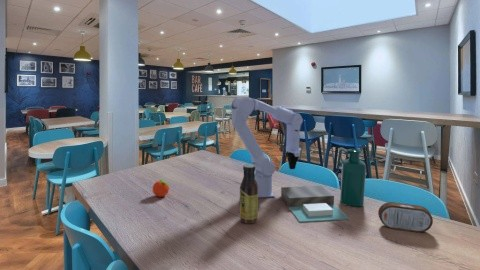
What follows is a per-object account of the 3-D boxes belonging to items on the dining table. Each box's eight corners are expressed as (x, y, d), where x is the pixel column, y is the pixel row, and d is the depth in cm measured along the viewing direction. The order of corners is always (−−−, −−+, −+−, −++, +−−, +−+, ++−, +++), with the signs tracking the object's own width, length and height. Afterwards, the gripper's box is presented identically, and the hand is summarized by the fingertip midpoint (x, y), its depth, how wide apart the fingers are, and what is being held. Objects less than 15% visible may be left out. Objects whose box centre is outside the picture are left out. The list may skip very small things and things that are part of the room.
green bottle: (361, 199, 111) (365, 147, 108) (364, 207, 103) (367, 151, 100) (336, 196, 114) (339, 146, 111) (337, 204, 106) (339, 150, 103)
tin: (429, 230, 86) (432, 205, 84) (432, 235, 83) (435, 209, 82) (377, 223, 91) (379, 199, 90) (378, 227, 88) (380, 203, 87)
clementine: (174, 195, 118) (174, 179, 117) (164, 200, 111) (163, 184, 110) (160, 192, 121) (159, 177, 120) (149, 197, 115) (148, 181, 114)
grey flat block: (289, 207, 103) (289, 198, 103) (281, 196, 115) (281, 187, 115) (333, 205, 105) (334, 195, 105) (321, 194, 117) (321, 185, 117)
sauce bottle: (239, 216, 96) (238, 162, 93) (256, 216, 97) (256, 162, 94) (240, 225, 90) (240, 168, 87) (259, 224, 90) (259, 167, 87)
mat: (299, 222, 92) (299, 221, 92) (289, 207, 103) (289, 206, 103) (349, 219, 94) (349, 218, 94) (333, 205, 105) (333, 204, 105)
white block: (303, 204, 101) (302, 209, 101) (309, 211, 95) (308, 216, 95) (325, 203, 102) (325, 208, 102) (333, 209, 96) (332, 214, 96)
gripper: (307, 141, 113) (306, 172, 115) (296, 136, 127) (295, 164, 130) (291, 142, 112) (290, 173, 114) (281, 136, 127) (281, 164, 129)
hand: (292, 168), depth 122 cm, fingers closed
